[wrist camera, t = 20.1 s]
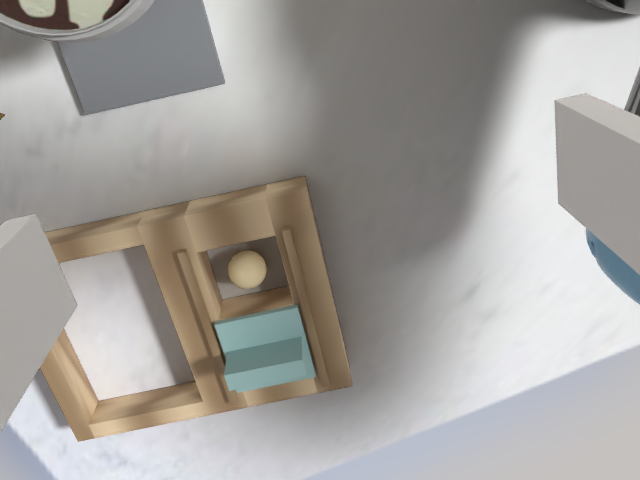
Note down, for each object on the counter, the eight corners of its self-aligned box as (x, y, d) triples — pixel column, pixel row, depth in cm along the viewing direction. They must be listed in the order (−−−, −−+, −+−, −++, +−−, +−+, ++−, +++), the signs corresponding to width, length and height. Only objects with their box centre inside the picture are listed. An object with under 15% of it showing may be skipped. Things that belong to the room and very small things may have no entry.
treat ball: (261, 240, 47) (260, 257, 44) (271, 273, 48) (270, 291, 45) (225, 248, 47) (221, 265, 44) (235, 280, 48) (232, 299, 46)
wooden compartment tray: (305, 175, 45) (306, 192, 41) (348, 364, 52) (353, 390, 49) (2, 241, 46) (-20, 263, 42) (88, 417, 53) (75, 446, 50)
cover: (297, 304, 46) (298, 329, 43) (315, 373, 49) (317, 401, 46) (214, 321, 46) (210, 348, 43) (238, 388, 49) (234, 418, 46)
